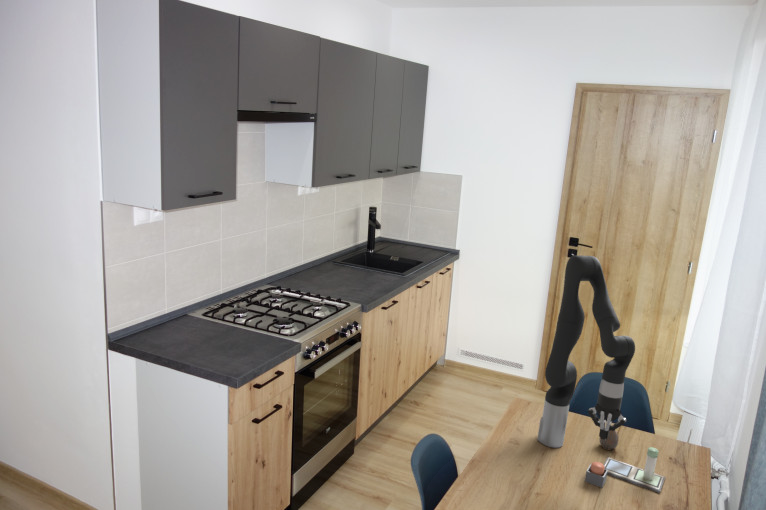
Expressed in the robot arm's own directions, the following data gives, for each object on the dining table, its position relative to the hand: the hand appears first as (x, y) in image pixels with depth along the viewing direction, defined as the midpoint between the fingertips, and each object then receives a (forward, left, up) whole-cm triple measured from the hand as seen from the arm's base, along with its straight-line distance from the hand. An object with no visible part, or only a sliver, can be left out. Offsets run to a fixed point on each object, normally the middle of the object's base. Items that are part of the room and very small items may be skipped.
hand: (603, 438), depth 209 cm
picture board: (+10, +12, -16) cm, 23 cm away
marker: (+15, +12, -15) cm, 25 cm away
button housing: (0, 0, -16) cm, 16 cm away
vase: (-2, +27, -17) cm, 32 cm away
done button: (0, 0, -14) cm, 14 cm away
